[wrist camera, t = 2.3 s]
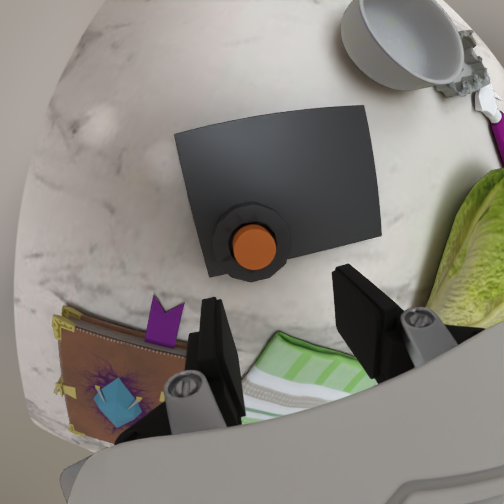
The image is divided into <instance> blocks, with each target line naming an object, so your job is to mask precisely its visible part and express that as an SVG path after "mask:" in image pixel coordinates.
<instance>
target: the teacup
mask: <svg viewBox="0 0 504 504" xmlns="http://www.w3.org/2000/svg"><path fill="white" fill-rule="evenodd" d="M341 38H342V41H343V44H344V47H345V49H346V51H347V53H348V55H349V56H350V58H351V59H352V61H353V62H354V63H355V64H356V66H357V67H358V68H359V69H360V70H361V71H362V72H364V73H365V74H366V75H367V76H368V77H370V78H371V79H373V80H374V81H376V82H378V83H379V84H381V85H384V86H386V87H389V88H393V89H397V90H415V89H421V88H426V87H430V86H434V85H445V84H449V83H451V82H453V81H454V80H456V79H457V78H458V76H459V75H460V73H461V71H462V69H463V65H464V49H463V45H462V41H461V38H460V36H459V33H458V31H457V29H456V27H455V25H454V23H453V22H452V20H451V19H450V17H449V16H448V14H447V13H446V12H445V11H444V9H443V8H442V7H441V6H440V5H439V4H438V3H437V2H436V1H435V0H353V1H352V2H351V3H350V5H349V6H348V8H347V9H346V11H345V13H344V15H343V17H342V21H341Z"/></svg>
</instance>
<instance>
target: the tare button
mask: <svg viewBox="0 0 504 504" xmlns="http://www.w3.org/2000/svg"><path fill="white" fill-rule="evenodd" d="M233 251H234V256H235V258H236V260H237V262H238V263H239V264H240V265H241V266H243V267H244V268H246V269H250V270H258V269H262V268H264V267H266V266H267V265H269V264H270V263H271V262H272V260H273V259H274V257H275V254H276V244H275V241H274V239H273V237H272V236H271V235H270V233H269V232H268V231H267V230H266V229H265V228H264V227H262V226H260V225H256V224H250V225H246V226H244V227H242V228H241V229H239V230H238V231H237V233H236V234H235V236H234V238H233Z"/></svg>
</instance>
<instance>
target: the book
mask: <svg viewBox="0 0 504 504" xmlns="http://www.w3.org/2000/svg"><path fill="white" fill-rule="evenodd" d="M184 304H185V303H183V304H181V305H179V306H177V307H175V308H174V309H172V310H170V311H168V312H166V313H165V311H164V310H163V308H162V307H161V305H160V304H159V302H158V301H157V299H156V297H155V296H154V295H153V300H152V305H151V310H150V315H149V320H148V325H147V330H146V333H143V332H139V331H136V330H132V329H128V328H125V327H121V326H118V325H115V324H111V323H108V322H105V321H101V320H98V319H95V318H92V317H89V316H86V315H83V314H82V313H80V312H78V311H77V310H75V309H73V308H72V307H68V306H63V307H62V316H59V315H54V314H53V319H52V327H53V331H54V335H55V338H56V339H58V344H59V356H60V366H61V374H62V375H61V377H60V379H59V380H58V383H56V388H55V390H54V393H55V394H58V392H59V391H60V393H61V396H62V397H63V394H64V395H65V401H66V406H67V412H68V417H69V421H70V423H69V431H70V432H72V433H74V434H76V435H81V436H85V435H86V436H89V437H92V438H95V439H99V440H102V441H106V442H109V443H113V444H115V441H116V439H117V437H118V436H119V435H120V434H121V433H122V432H123V431H125V430H126V429H128V428H129V427H130V426H132V425H133V424H134V423H136V422H137V421H139V420H140V419H141V418H143V417H144V416H145V415H147V414H148V413H149V412H151V411H152V410H153V409H154V408H156V407H157V406H158V405H160V404H161V403H162V402H164V401H165V397H164V385H165V383H166V382H167V380H168V379H169V378H170V377H172V376H173V375H175V374H177V373H179V372H181V371H184V370H185V361H186V353H187V345H188V343H184V342H180V341H176V337H177V332H178V328H179V323H180V319H181V315H182V311H183V307H184Z"/></svg>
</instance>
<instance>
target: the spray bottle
mask: <svg viewBox="0 0 504 504" xmlns="http://www.w3.org/2000/svg"><path fill="white" fill-rule="evenodd" d="M487 74H488V76H489V73H488V72H487ZM495 98H496V99H498V100H502V98H501V97H500V96H499V95H498V94H497V93H496V92H495V91H493V89H492V84H491V82H490V84H489V85H487V86H485V87H483V88H481V89H479V90H477V91H476V94H475V110H476V111H481V112H483V113H484V114H485V115H486V116H487V117H488V118H489V119H490V121H491V127H492V129H493V132H494V135H495V138H496V141H497V145H498V148H499V151H500V154H501V157H502V160H503V167H504V113H503V112H502V111H499V110H498V108H497V103H496V100H495Z"/></svg>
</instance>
